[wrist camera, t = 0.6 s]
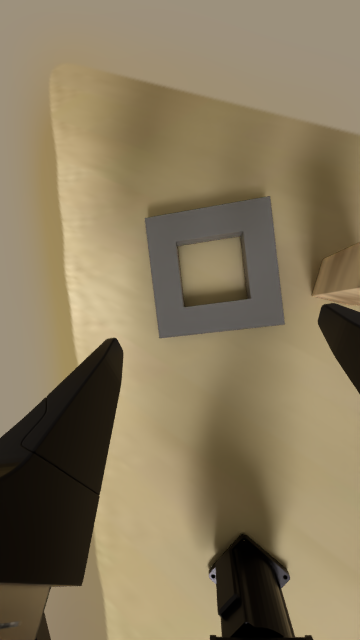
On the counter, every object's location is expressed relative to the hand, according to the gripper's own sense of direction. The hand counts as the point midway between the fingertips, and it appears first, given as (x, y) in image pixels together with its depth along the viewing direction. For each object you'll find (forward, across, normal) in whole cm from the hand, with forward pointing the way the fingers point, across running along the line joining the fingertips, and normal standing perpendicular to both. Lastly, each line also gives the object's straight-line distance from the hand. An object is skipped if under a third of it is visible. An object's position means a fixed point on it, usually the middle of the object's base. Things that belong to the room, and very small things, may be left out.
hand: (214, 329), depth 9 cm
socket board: (+15, -1, +4) cm, 15 cm away
